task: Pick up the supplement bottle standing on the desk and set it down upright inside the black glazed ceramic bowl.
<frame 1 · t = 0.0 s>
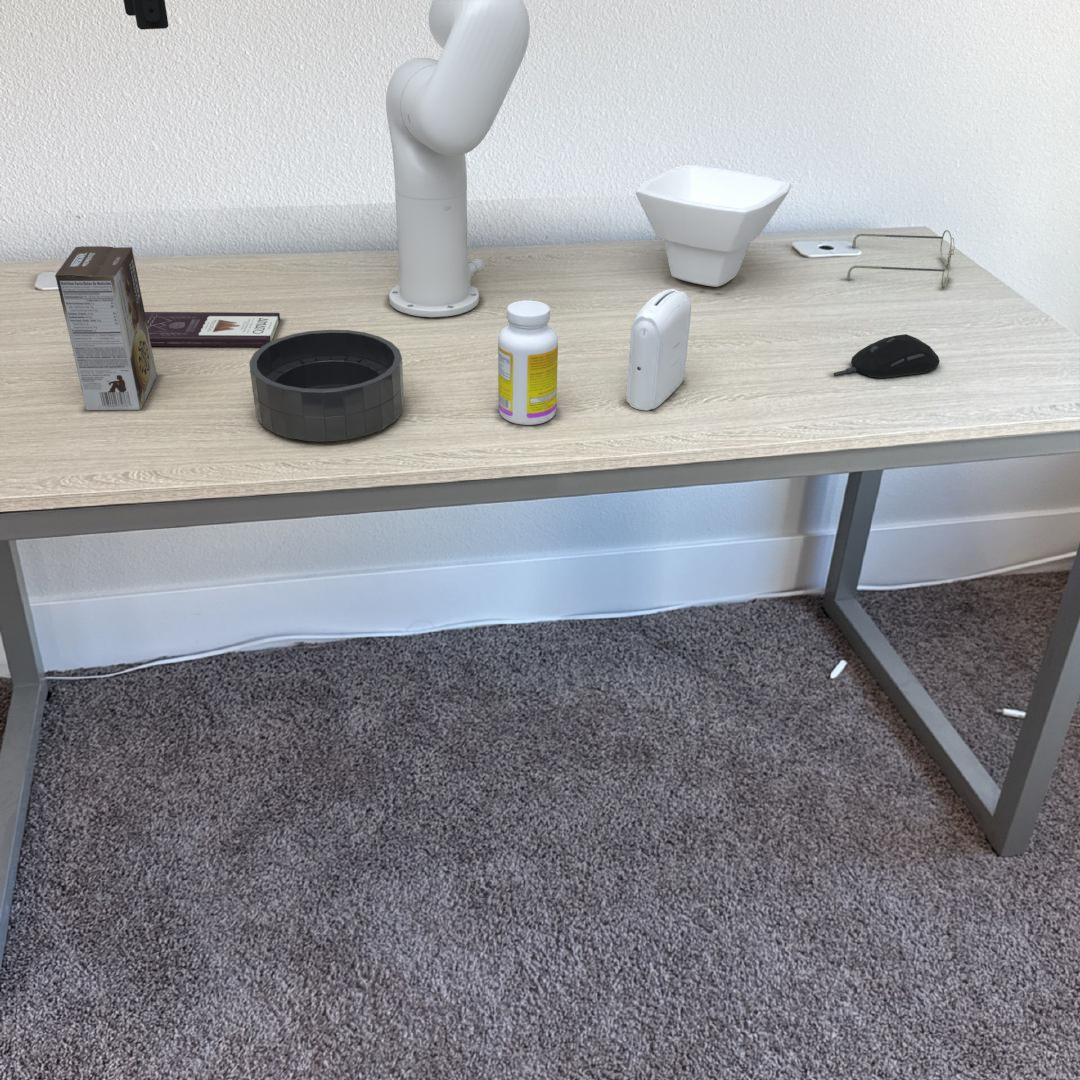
hand: (146, 21, 121), 37 cm above the table, tool pointing down, fingers open, 9 cm apart
photo printer: (654, 395, 131), on the table
black bowl: (331, 411, 125), on the table
coffee box: (122, 395, 127), on the table
chocolate bar: (205, 333, 142), on the table
bowl: (704, 281, 163), on the table
gaming mouse: (883, 369, 138), on the table
supplement bottle: (527, 415, 126), on the table
eyeglasses: (897, 269, 169), on the table
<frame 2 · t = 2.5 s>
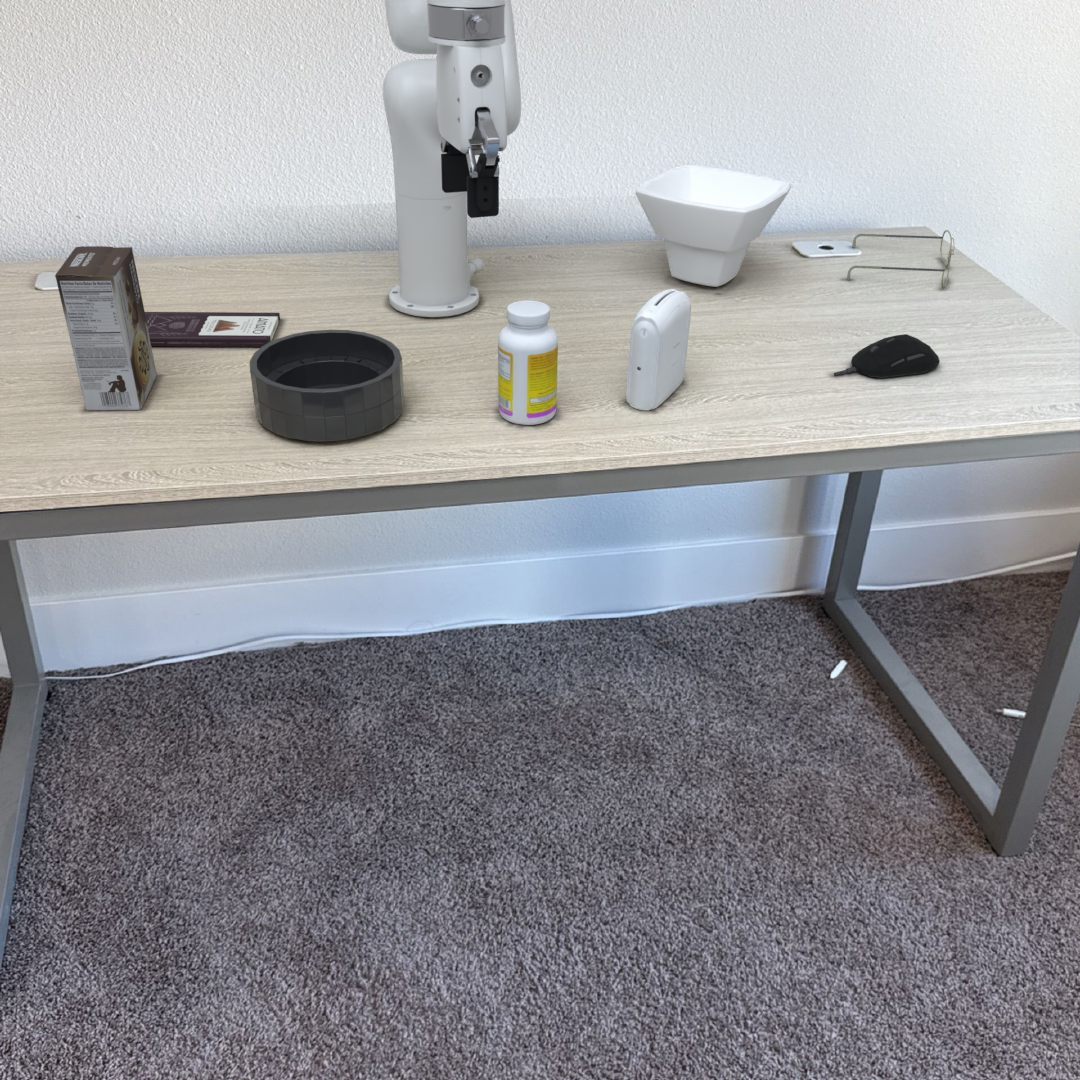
hand: (469, 203, 115), 23 cm above the table, tool pointing down, fingers open, 9 cm apart
nothing on the table moved.
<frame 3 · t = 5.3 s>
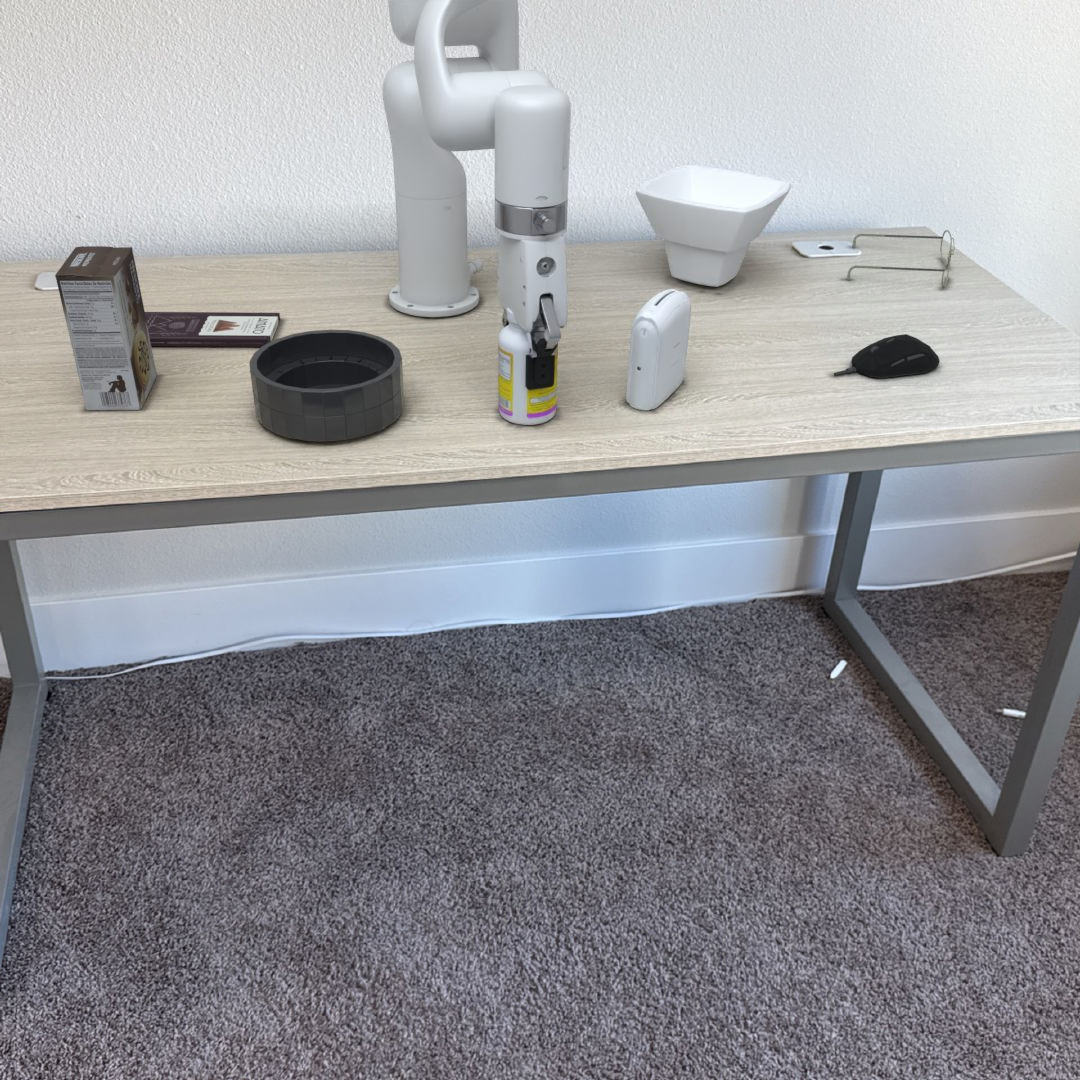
hand: (527, 372, 123), 5 cm above the table, tool pointing down, fingers closed on supplement bottle, 6 cm apart
supplement bottle: (527, 415, 126), on the table, touching gripper
everything else where it was.
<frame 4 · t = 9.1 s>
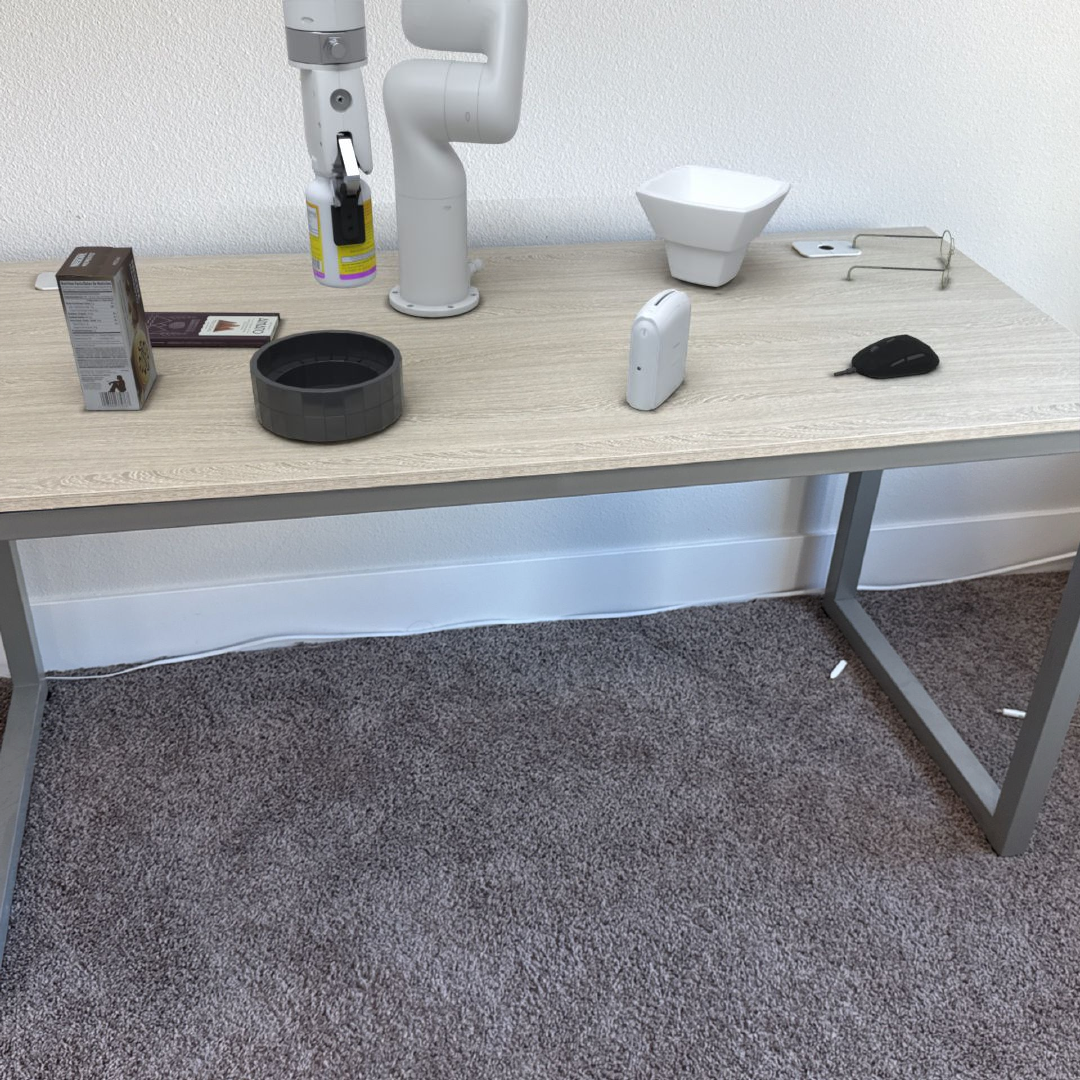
hand: (341, 231, 113), 21 cm above the table, tool pointing down, fingers closed on supplement bottle, 6 cm apart
supplement bottle: (345, 281, 116), point 16 cm above the table, touching gripper
everything else where it was.
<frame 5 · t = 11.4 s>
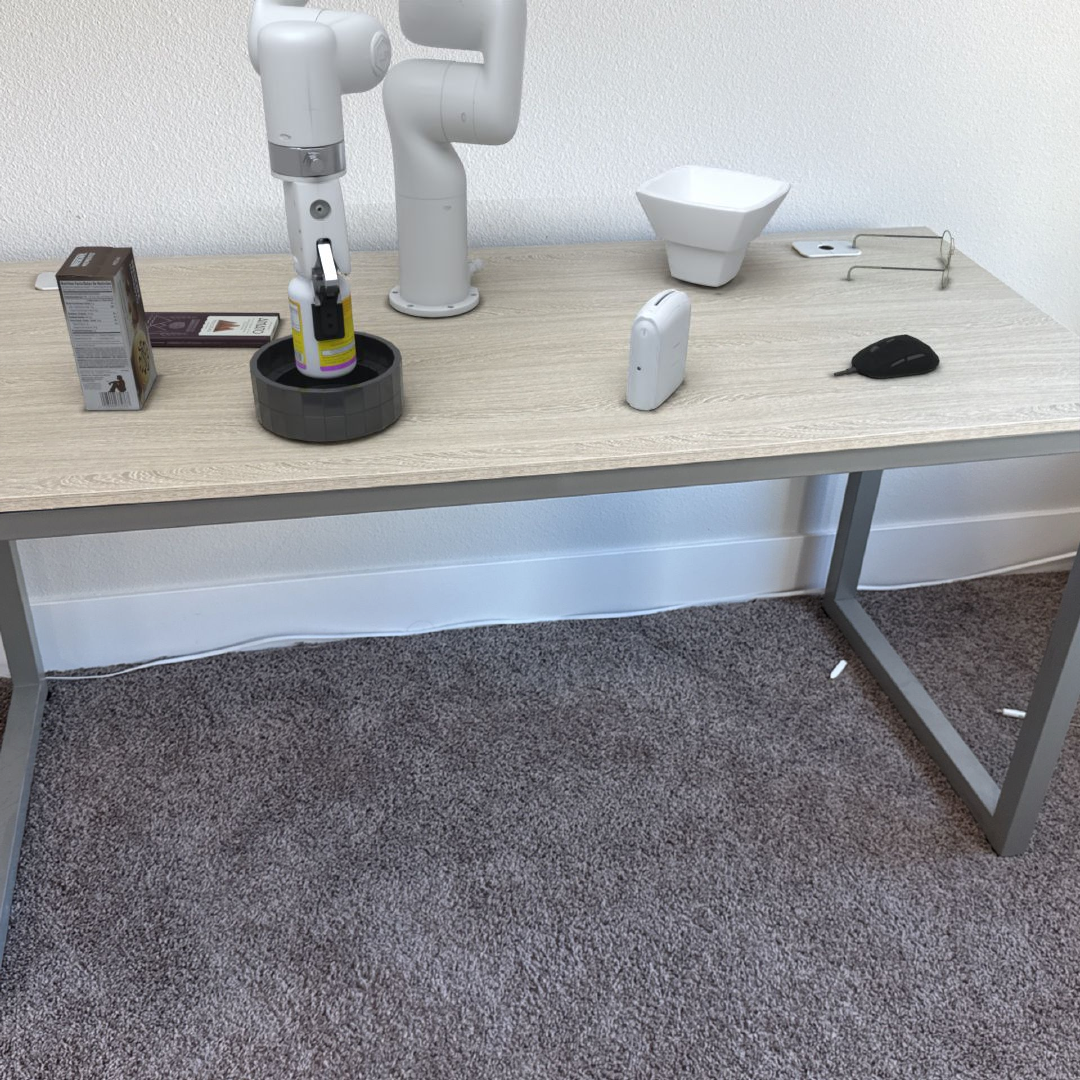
hand: (322, 324, 119), 11 cm above the table, tool pointing down, fingers closed on supplement bottle, 6 cm apart
supplement bottle: (326, 370, 122), point 5 cm above the table, touching gripper
everything else where it was.
when the fingers open (6 cm above the table, at t = 13.1 s): supplement bottle stays where it is, resting on black bowl.
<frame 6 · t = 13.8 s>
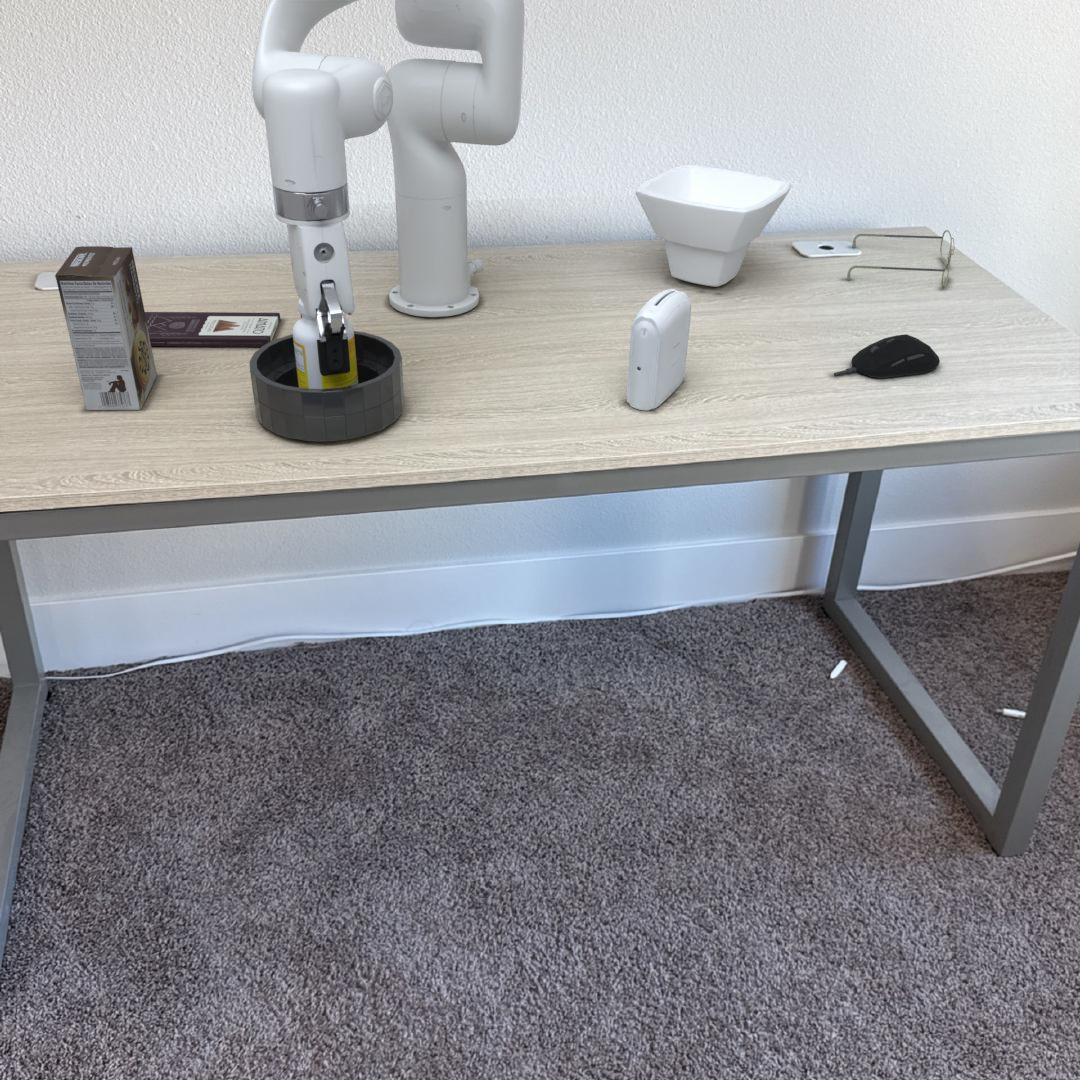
hand: (326, 355, 121), 7 cm above the table, tool pointing down, fingers open, 9 cm apart
supplement bottle: (330, 408, 125), resting on black bowl
everything else where it was.
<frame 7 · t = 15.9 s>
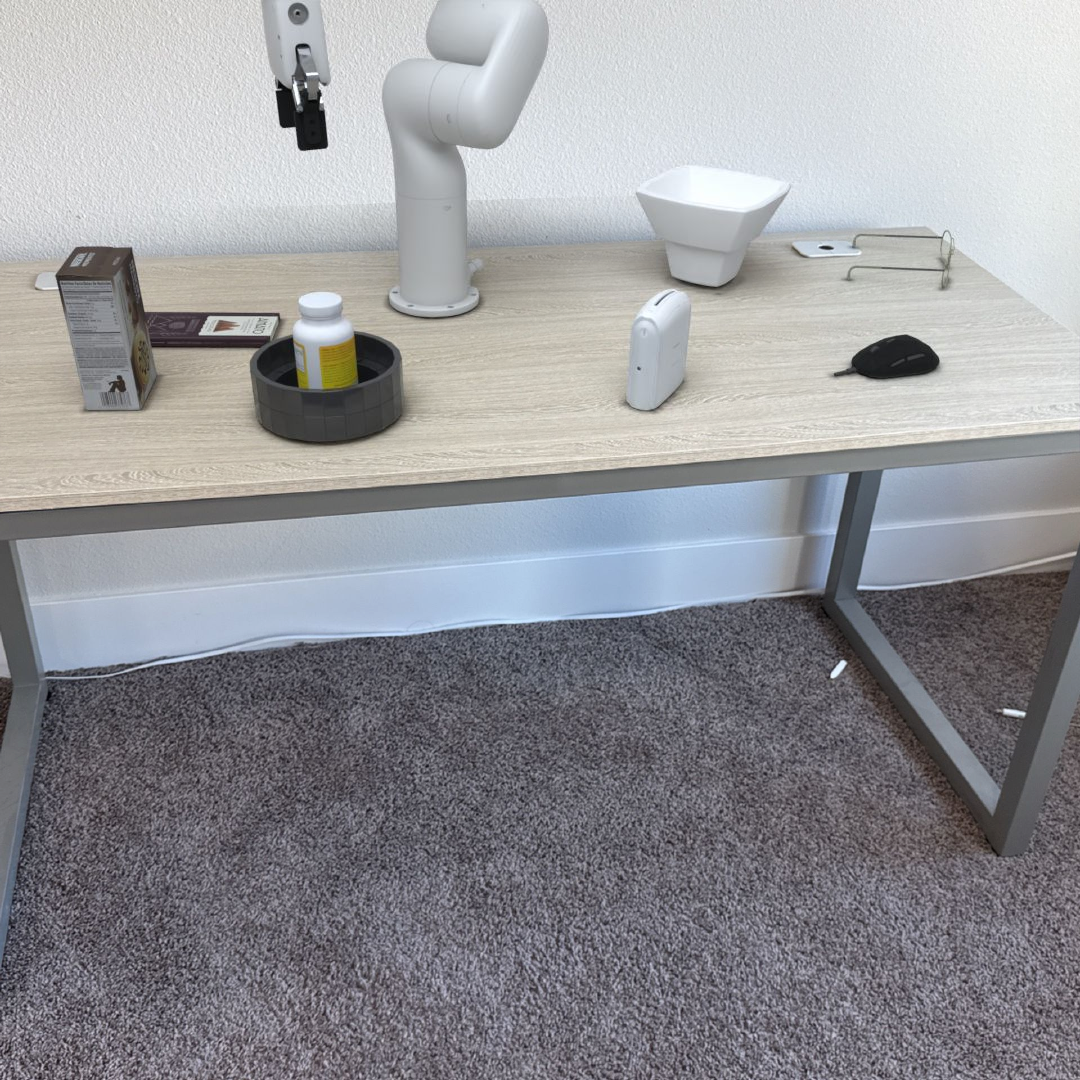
hand: (303, 137, 121), 27 cm above the table, tool pointing down, fingers open, 9 cm apart
nothing on the table moved.
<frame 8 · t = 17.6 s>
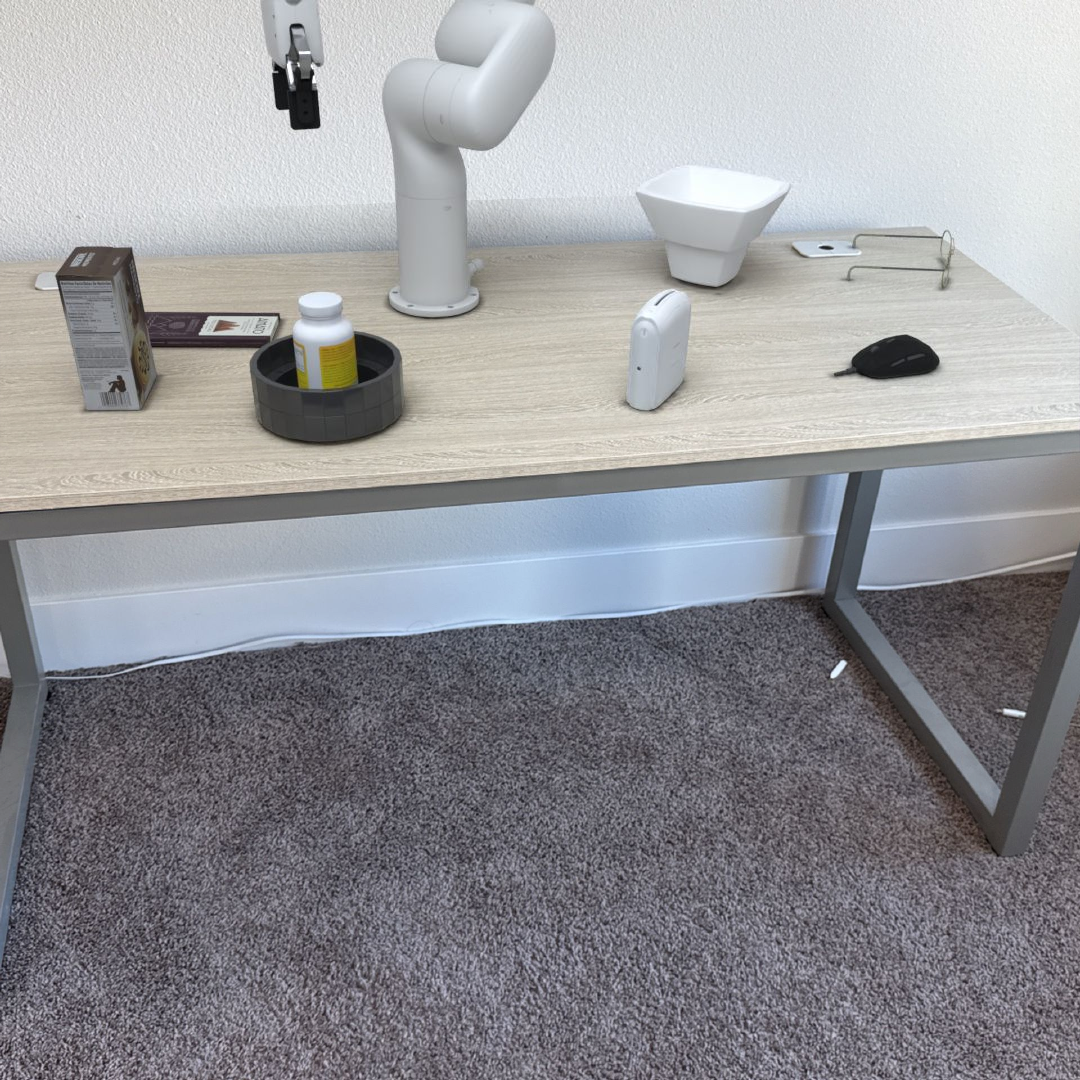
hand: (297, 118, 123), 28 cm above the table, tool pointing down, fingers open, 9 cm apart
nothing on the table moved.
at the end: supplement bottle 0.0 cm off-centre in the black bowl, point 0.4 cm above the black bowl's base; supplement bottle tilted 0°; the gripper is holding nothing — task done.
